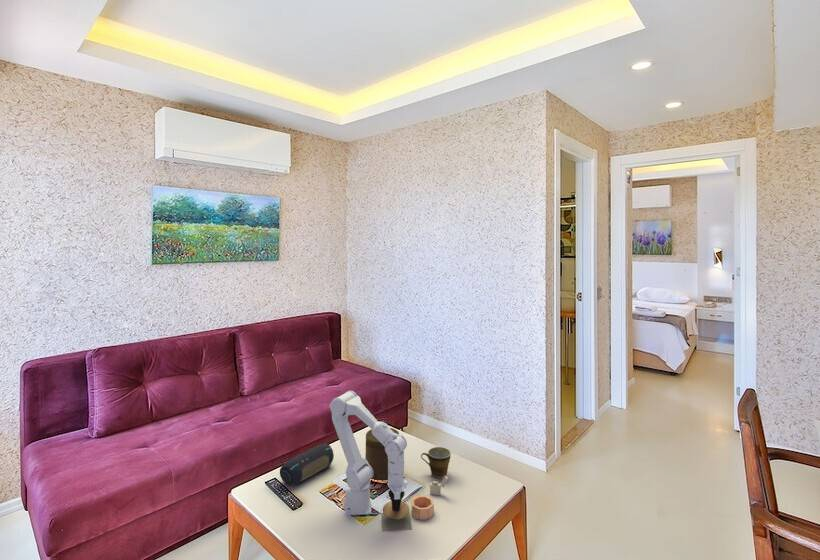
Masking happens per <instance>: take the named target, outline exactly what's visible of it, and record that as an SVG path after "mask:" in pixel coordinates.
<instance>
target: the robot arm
mask: <svg viewBox="0 0 820 560" xmlns="http://www.w3.org/2000/svg"><path fill="white" fill-rule="evenodd" d="M329 409H330V412H331V420H332V424H333V426H334V428H335V432H336V435H337V438H338V440H339V443H340V445H341V448H342V451H343V454H344V456H345V458H346V459H345V460H346V462H347V466H346V468H345V475H346V485H345V492H344V493H345V494H344V497H345V498H344V499H345V500H344V509H345V510H344V512H345V513H344V515H345V516H357V515H371V514H372V506H371V507H370V500H371V481H370V479H371V478H372V477H373V469H372V467H371V466H370V465H369V464H368V461H367V460H366V459H365V458H363V457H362V454H361V452H360V450H359V446H358V444H357V441H356V439H355V438H356V437H355V436H354V433H353V430H352V427H351V424H350V422H349V420H348V419H349V416H356V417H357V418H359V420H361V421H362V422H363V423H364V424H365V425H366V426H368V427H369V428H370V430H371V429H372V434H373V435H374V436H375V437H376V438H377V439H378V440H379V441H380V442H381V443H382V444H383V445H384V446H385V447H386V448H385V451H386V453H387V455H388V483H386V484H387V487H388V489H389V490H388V497H389V499H390V501H392V507H393V510H399V508H400V504H401V501H402V500H403V498H404V496H405V491H403V488H404V486H407V485H408V480H406V479H405V450H406V449H407V445H408V444H407V439H406V438H405V437H404V436H403V435H402V434H400V433H399V434H396V433H394V432H393V431H392V430H391V429H390V428H391V427H389V426H388V424H387V423H386V422H384V421H378V419H377V418H375V416H374V415H373V414H372V413H371V412H370V411H369V410H368V408H366V406H365V405H364V404H363V403H362V400H361V397H360V396H359V395H358V394H357V393H356V392H355V391H353V390H348V391H346V392H345V393H343V394H341V395H340V396H337V397H335V398H333V399H332V400H331V402H330V404H329Z"/></svg>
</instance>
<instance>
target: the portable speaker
mask: <svg viewBox="0 0 820 560" xmlns="http://www.w3.org/2000/svg"><path fill="white" fill-rule="evenodd" d="M334 455H335V454H334V450H333V448H332V446H331V445H330V444H328V443H322V444H319V445H317V446H315V447H313V448H311V449H309V450H307V451H305V452H303V453H300V454H299V455H296V456H295V457H293V458H291V459H288V460H287V461H286V462H285V463H283V464H282V465H281V467H280V469H279V476H280V478H281V480H282V481H283V483H285V484H286V485H287V486H296V485H298V484H300V483H302V482H303V481H304V480H306V479H309V477H312V476H313V475H315V474H317V473H319V472H321V471H322V470H324V469H325V468H328V467H329V466H330V465H332V463H333V461H334Z"/></svg>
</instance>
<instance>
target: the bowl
mask: <svg viewBox="0 0 820 560" xmlns="http://www.w3.org/2000/svg"><path fill="white" fill-rule="evenodd" d="M434 503H435V502H434V499H433V498H431V497H429V496H427V495H417V496H415V497H413V498H412V499H411V504H410V505H411V508H410V509H411V515H412V517H414V518H415V519H417V520H428V519H430V518H432V517H433V515H434V514H435V513H434V511H435V510H434V509H435V508H434V507H435V504H434Z"/></svg>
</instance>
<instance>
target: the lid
mask: <svg viewBox="0 0 820 560" xmlns="http://www.w3.org/2000/svg"><path fill="white" fill-rule="evenodd" d="M382 510H383V514H384V515H385V516H386V517H387V518H389V519H395V520H397V519H402V518H404V517H406V516H407V515H408V514H409V512H410V506H409V504H407V503H406V502H404V501H402V500H401V504H400V508H399V510H393V507H392V501H391V500H390V501H388V502H387V503H386V502H385V504H384V505H383V506H382Z"/></svg>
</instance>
